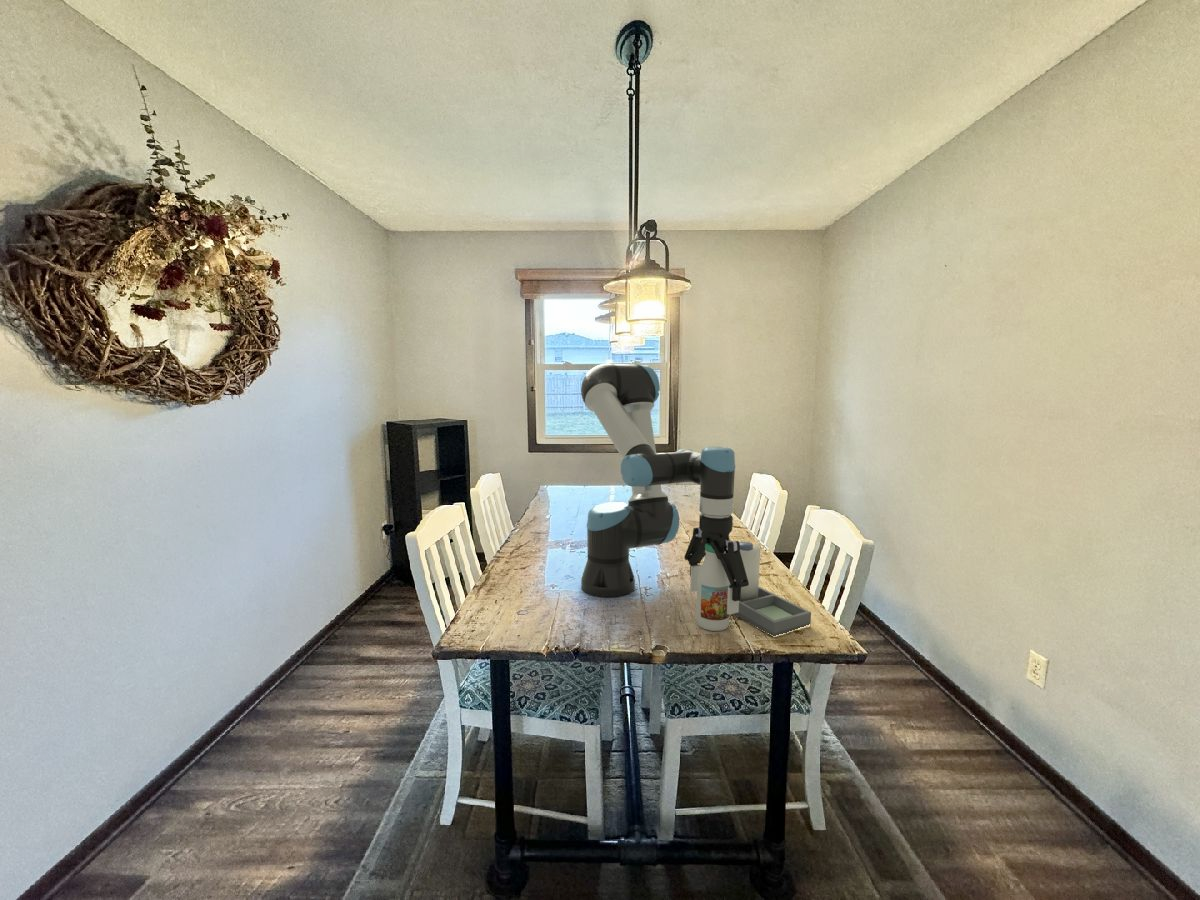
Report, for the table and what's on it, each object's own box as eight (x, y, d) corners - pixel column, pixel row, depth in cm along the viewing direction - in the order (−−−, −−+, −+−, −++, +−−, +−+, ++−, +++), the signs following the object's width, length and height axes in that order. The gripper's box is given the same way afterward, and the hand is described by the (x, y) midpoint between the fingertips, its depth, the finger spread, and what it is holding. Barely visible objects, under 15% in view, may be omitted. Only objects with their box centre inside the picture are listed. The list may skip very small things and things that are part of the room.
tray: (773, 638, 113) (774, 622, 113) (710, 600, 133) (710, 586, 133) (810, 627, 119) (811, 612, 118) (743, 592, 138) (744, 579, 138)
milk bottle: (689, 624, 120) (691, 543, 117) (707, 613, 125) (710, 536, 123) (717, 635, 115) (720, 551, 112) (735, 624, 120) (738, 543, 117)
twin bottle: (741, 608, 126) (743, 550, 124) (721, 597, 132) (723, 542, 130) (764, 602, 129) (766, 546, 127) (743, 591, 136) (745, 538, 134)
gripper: (768, 525, 107) (763, 619, 110) (696, 501, 129) (693, 580, 132) (741, 530, 104) (737, 627, 106) (671, 504, 126) (670, 585, 129)
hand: (713, 601), depth 119 cm, fingers open, 13 cm apart
